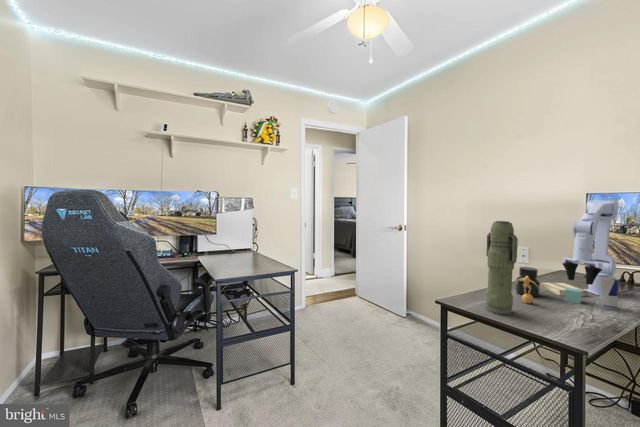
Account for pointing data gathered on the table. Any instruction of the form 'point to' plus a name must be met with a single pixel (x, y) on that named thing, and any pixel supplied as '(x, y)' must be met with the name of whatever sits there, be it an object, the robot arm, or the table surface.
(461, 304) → the table surface
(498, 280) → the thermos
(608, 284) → the energy drink
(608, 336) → the table surface
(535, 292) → the ink bottle
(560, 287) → the birch block
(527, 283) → the figurine
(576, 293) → the teal cube
